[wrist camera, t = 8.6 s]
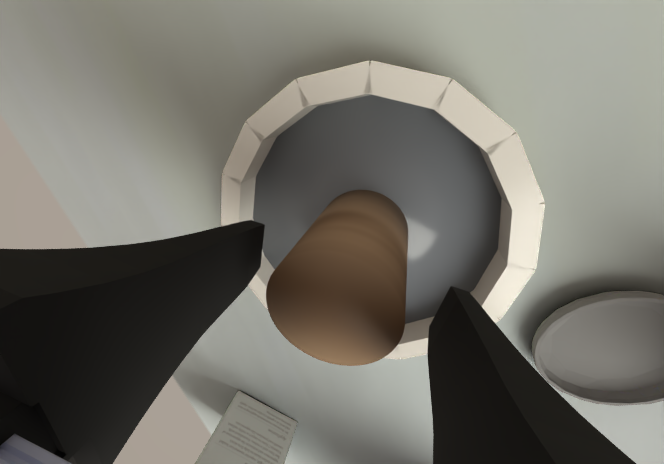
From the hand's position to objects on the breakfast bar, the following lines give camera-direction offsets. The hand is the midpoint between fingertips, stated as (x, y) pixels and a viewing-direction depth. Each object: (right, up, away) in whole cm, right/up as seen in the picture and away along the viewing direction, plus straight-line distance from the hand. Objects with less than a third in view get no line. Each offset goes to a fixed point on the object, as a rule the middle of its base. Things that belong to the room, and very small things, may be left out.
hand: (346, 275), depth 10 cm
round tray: (+1, +2, +4) cm, 4 cm away
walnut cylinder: (+1, +2, +3) cm, 4 cm away
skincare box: (-7, -16, +15) cm, 23 cm away
